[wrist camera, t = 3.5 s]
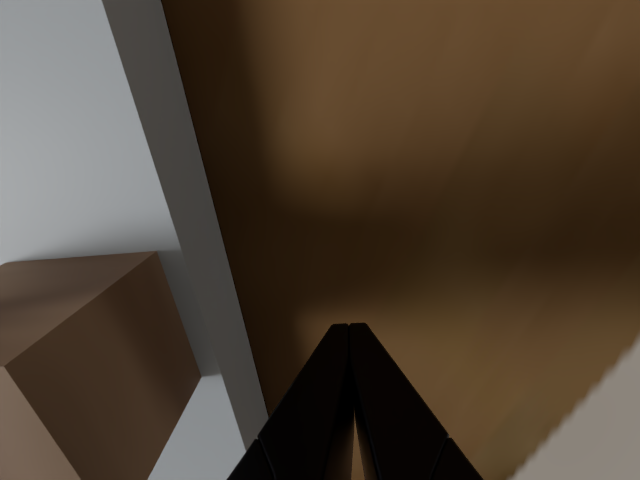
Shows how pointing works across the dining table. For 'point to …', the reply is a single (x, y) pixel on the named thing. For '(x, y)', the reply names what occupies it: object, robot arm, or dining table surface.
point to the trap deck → (124, 193)
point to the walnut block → (90, 367)
